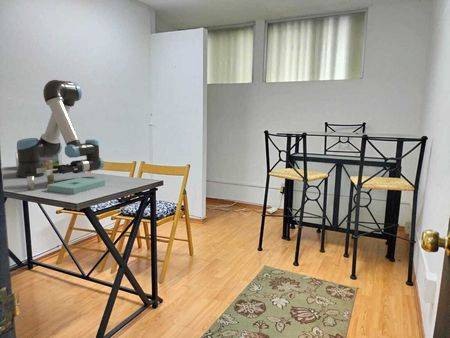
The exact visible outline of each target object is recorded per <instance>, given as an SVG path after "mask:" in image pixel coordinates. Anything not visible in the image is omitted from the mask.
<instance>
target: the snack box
mask: <svg viewBox="0 0 450 338" xmlns="http://www.w3.org/2000/svg"><path fill="white" fill-rule="evenodd" d="M62 157H63V156H62V151H61V152H60V153H59V154H58V155H55V156H52V157H42V158H40V164H41V166H42V168H45V167H46V160H53V166H57V165H63V158H62Z"/></svg>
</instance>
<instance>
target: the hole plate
mask: <svg viewBox="0 0 450 338" xmlns="http://www.w3.org/2000/svg"><path fill="white" fill-rule="evenodd" d="M105 186H106V180H105V179H103V180H102V179H96V178H87V177H77V178H76V177H75V178H72V179H69V180H64V181H59V182H54V184H49V185H48V184H47V185H46V189H47V191H48V192H54V193H61V194H69V195H76V194H80V192H81V193H83V192H87V190H88V191H90V190H94V189H97V188H101V187H105Z"/></svg>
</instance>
